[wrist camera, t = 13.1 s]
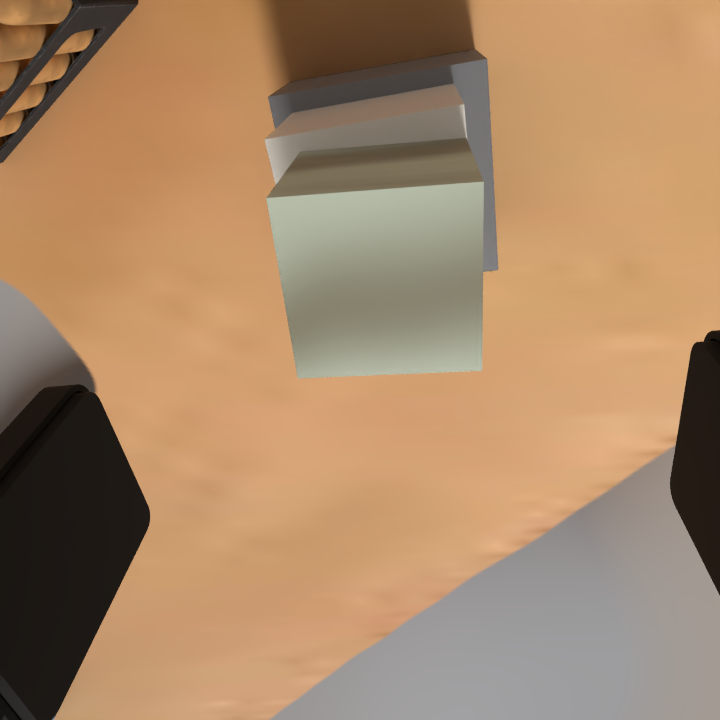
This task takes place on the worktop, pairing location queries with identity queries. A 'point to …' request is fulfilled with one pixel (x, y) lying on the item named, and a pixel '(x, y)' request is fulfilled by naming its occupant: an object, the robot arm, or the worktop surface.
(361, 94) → the tower base
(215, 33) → the worktop surface
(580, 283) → the worktop surface
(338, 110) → the tower top
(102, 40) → the ammunition clip
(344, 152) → the sage block
